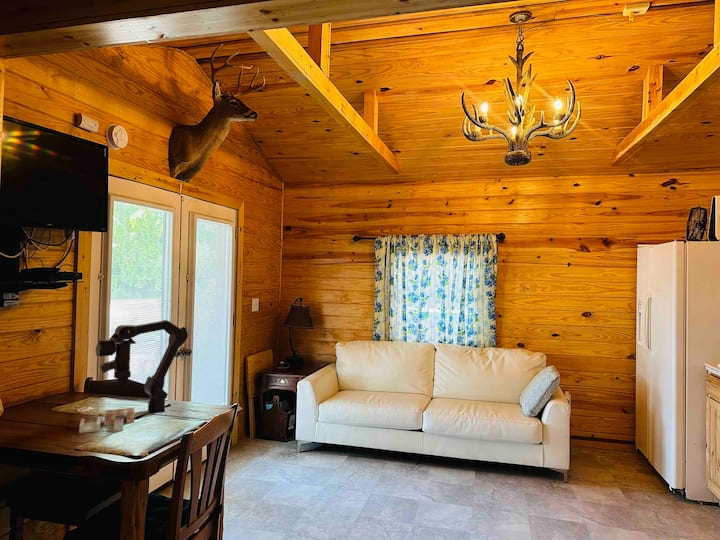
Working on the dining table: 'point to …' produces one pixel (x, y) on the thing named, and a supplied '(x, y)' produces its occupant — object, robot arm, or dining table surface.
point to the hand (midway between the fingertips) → (121, 390)
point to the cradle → (89, 426)
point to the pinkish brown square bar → (119, 423)
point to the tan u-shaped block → (111, 414)
